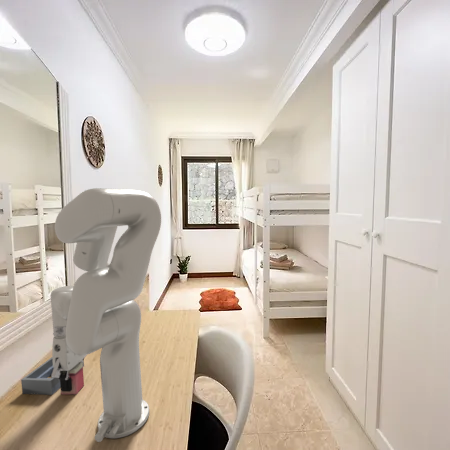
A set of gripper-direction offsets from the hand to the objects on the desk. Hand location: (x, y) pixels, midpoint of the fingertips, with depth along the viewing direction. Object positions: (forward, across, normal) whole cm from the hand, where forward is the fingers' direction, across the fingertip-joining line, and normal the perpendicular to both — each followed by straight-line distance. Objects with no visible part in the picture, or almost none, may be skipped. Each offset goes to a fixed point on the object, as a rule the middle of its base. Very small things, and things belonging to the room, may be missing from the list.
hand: (72, 384), depth 82 cm
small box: (+2, 0, 0) cm, 2 cm away
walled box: (+2, +5, +10) cm, 11 cm away
